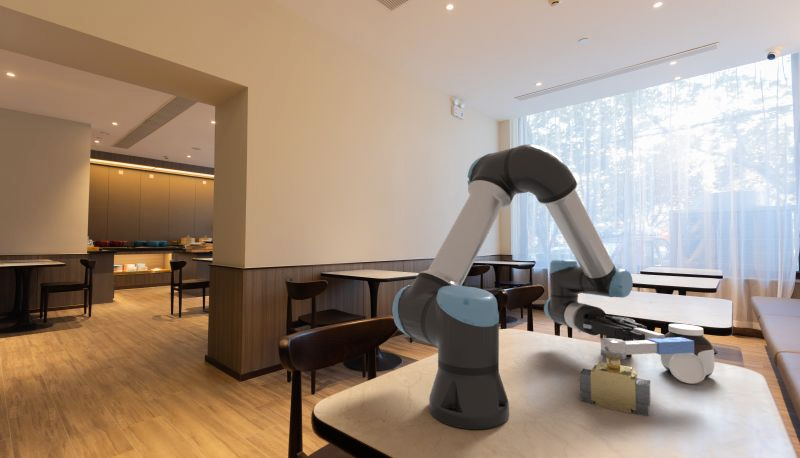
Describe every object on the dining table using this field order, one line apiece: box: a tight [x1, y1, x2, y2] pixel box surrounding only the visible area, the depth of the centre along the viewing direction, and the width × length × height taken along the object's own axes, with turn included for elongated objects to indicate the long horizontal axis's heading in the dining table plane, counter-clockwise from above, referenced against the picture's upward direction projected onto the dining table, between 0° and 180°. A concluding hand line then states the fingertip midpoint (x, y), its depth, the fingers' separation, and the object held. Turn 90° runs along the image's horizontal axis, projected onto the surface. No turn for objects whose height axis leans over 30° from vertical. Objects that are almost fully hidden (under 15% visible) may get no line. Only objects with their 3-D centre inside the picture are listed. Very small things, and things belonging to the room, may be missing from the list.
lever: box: [600, 337, 694, 360], centre depth 76 cm, size 4×19×3 cm, turn 98°
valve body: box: [579, 357, 652, 417], centre depth 75 cm, size 12×6×9 cm, turn 54°
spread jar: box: [660, 323, 715, 385], centre depth 89 cm, size 12×11×12 cm
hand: (661, 341), depth 78 cm, fingers closed
